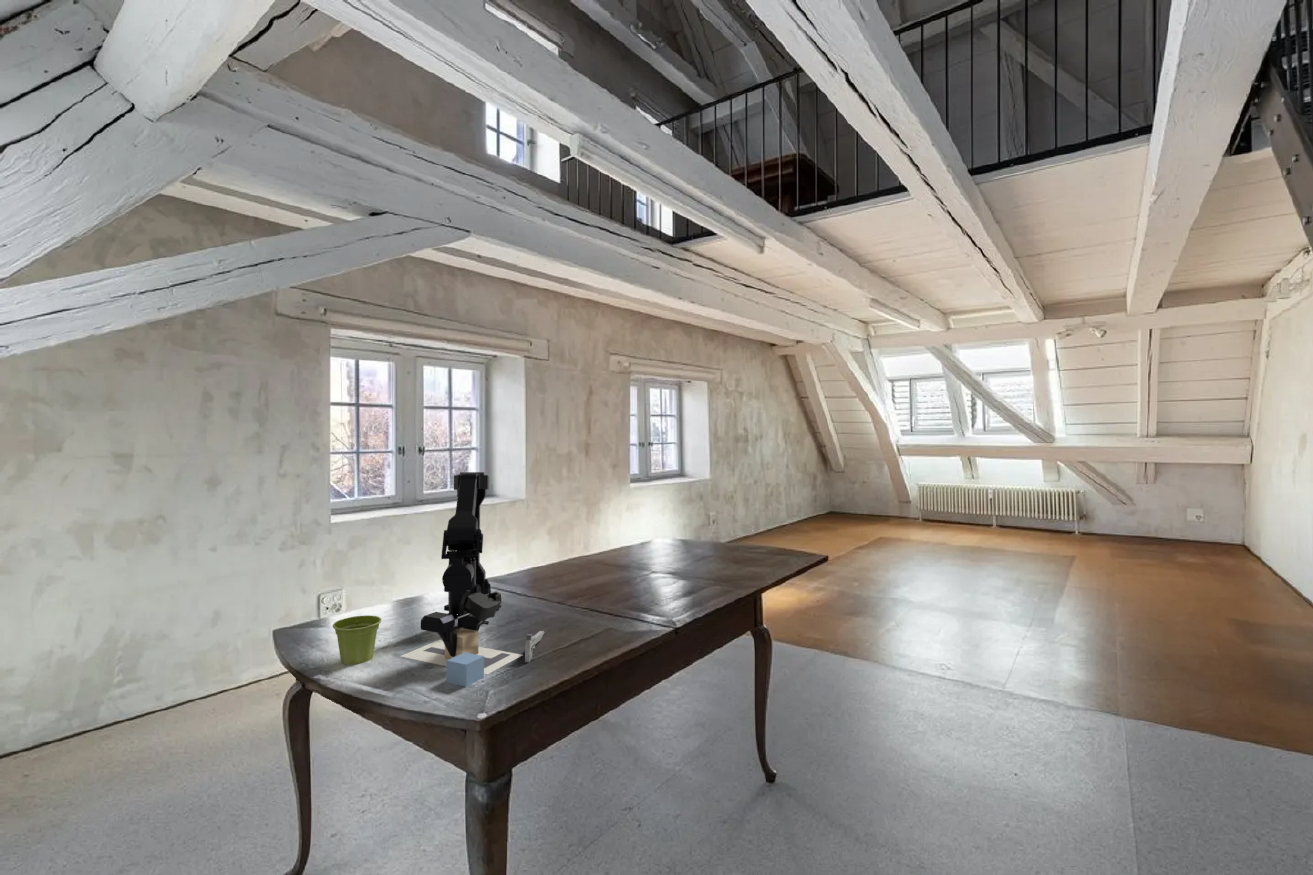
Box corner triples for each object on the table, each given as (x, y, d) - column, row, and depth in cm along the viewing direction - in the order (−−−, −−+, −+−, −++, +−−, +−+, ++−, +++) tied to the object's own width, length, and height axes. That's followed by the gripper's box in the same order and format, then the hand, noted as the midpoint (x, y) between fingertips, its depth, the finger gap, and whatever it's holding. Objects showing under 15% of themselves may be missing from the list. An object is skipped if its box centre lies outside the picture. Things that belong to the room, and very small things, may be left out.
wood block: (460, 650, 134) (461, 627, 134) (478, 653, 132) (478, 630, 132) (444, 657, 129) (444, 634, 129) (462, 661, 127) (462, 637, 127)
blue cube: (464, 676, 120) (464, 652, 120) (483, 681, 118) (484, 655, 118) (446, 686, 116) (446, 660, 116) (466, 690, 114) (466, 664, 114)
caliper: (530, 666, 127) (530, 636, 127) (524, 666, 127) (525, 636, 127) (544, 634, 147) (544, 609, 147) (540, 635, 147) (540, 609, 147)
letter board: (440, 642, 141) (440, 639, 141) (523, 657, 131) (523, 654, 131) (399, 658, 130) (399, 656, 130) (486, 677, 120) (486, 674, 120)
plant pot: (387, 662, 128) (388, 621, 128) (340, 674, 121) (340, 631, 121) (372, 650, 135) (372, 612, 135) (326, 661, 128) (326, 621, 128)
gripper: (460, 595, 119) (460, 673, 119) (518, 576, 136) (517, 644, 136) (418, 589, 123) (418, 664, 123) (479, 571, 140) (479, 637, 140)
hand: (461, 652), depth 130 cm, fingers closed on wood block, 5 cm apart
